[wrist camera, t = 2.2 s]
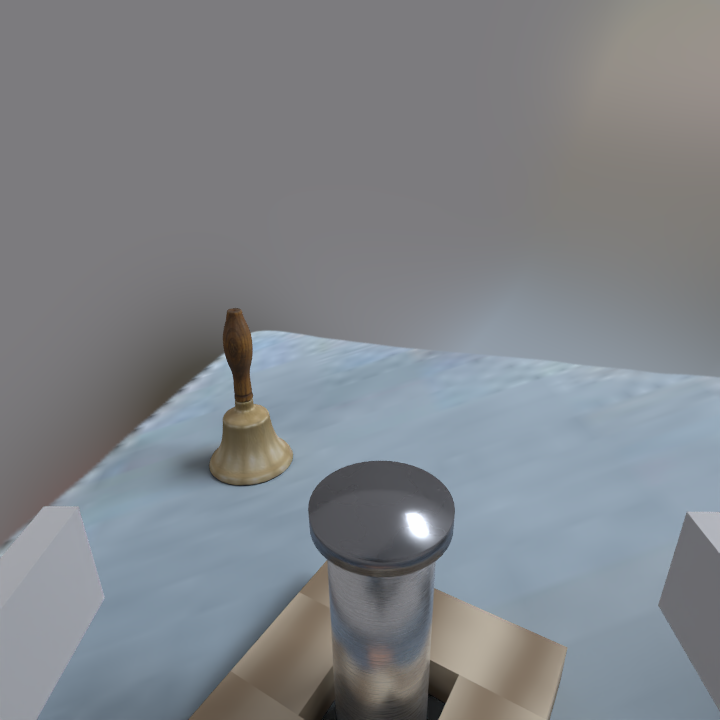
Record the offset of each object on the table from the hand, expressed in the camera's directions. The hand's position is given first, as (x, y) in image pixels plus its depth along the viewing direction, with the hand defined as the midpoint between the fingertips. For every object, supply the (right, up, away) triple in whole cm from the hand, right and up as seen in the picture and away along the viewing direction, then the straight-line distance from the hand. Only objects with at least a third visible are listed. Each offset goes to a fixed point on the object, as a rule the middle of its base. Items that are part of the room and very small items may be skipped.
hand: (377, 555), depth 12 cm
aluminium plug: (+1, -16, +18) cm, 25 cm away
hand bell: (-11, -6, +42) cm, 44 cm away
